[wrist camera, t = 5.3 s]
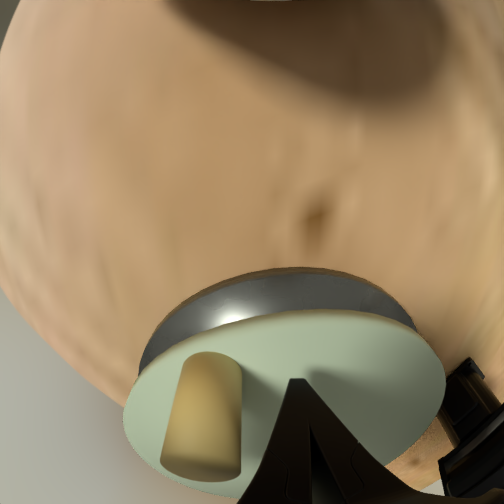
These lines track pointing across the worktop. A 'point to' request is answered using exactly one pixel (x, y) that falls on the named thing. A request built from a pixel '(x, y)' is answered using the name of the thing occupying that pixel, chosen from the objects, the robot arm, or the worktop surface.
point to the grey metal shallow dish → (270, 302)
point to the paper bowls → (270, 0)
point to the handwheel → (279, 391)
